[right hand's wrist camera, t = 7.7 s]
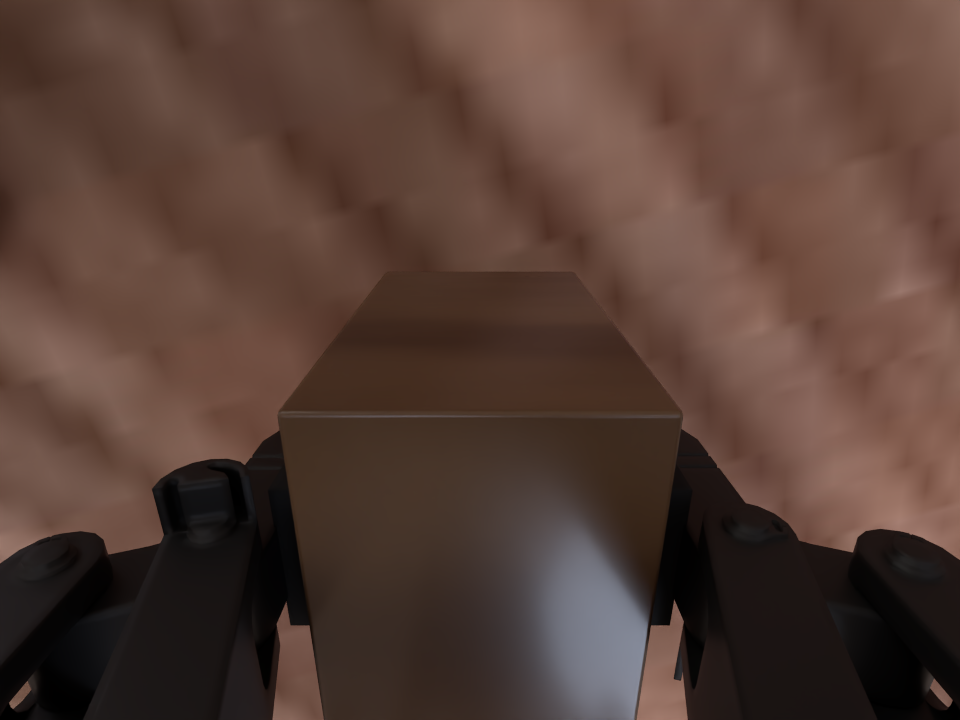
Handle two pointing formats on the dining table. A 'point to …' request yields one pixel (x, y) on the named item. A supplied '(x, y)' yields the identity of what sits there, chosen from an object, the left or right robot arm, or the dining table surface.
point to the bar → (480, 502)
